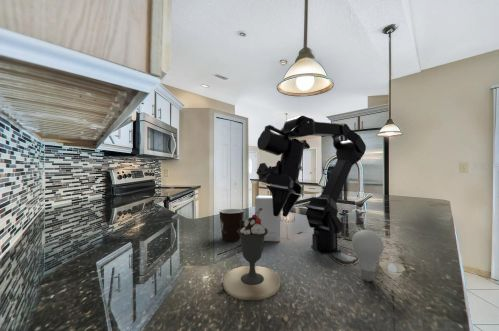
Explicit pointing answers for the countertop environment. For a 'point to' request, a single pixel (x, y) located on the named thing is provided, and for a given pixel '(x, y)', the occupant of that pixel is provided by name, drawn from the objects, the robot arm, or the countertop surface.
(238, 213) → the coffee mug
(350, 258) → the countertop surface
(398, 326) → the countertop surface
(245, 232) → the sundae
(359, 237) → the lightbulb
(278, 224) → the supplement box
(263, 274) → the coaster
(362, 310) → the countertop surface
